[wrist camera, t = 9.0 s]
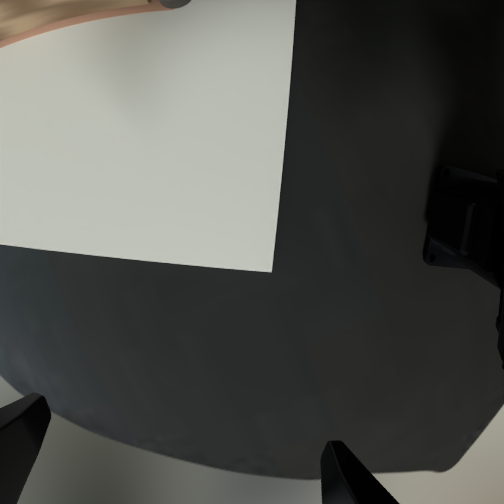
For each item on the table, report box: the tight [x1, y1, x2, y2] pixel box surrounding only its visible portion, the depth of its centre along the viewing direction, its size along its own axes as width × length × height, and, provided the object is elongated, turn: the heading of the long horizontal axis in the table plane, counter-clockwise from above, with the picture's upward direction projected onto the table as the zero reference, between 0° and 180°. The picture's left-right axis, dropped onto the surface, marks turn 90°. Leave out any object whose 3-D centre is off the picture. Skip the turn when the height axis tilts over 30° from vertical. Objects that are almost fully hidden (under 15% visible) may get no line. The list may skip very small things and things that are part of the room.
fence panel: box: [0, 0, 151, 41], centre depth 11 cm, size 15×2×6 cm, turn 85°
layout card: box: [0, 0, 296, 272], centre depth 14 cm, size 23×30×1 cm
